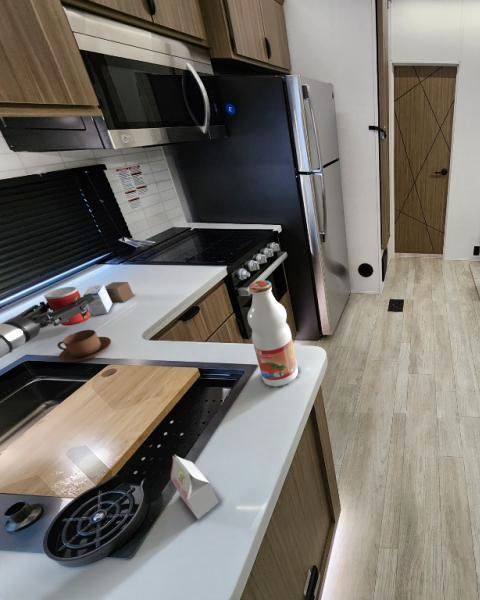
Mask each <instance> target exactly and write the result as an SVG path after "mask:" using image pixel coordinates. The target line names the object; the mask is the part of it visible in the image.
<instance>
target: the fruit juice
mask: <svg viewBox="0 0 480 600" xmlns="http://www.w3.org/2000/svg"><path fill="white" fill-rule="evenodd" d="M272 289H273V285H272V283H271V281H269V280H266V279H261V280H256V281H252V282H251V283H250V284H249V286H248V290H249V292H250V294H251V295H252V301H251V306H250V308H249V310H248V312H247V316H246V317H247V323H248V325H249V327H250V328H251V330H252V331H251V340H252V345H253V348H254V352H255V356H256V359H257V363H258V368H259V371H260V374H261V378H262V381H263V382H264V383H265V384H266V385H267V386H270V387H281V386H285V385H288V384H290V383H291V382H293V381H294V380H295V379H296V377H297V376H298V373H299V366H298V361H297V357H296V352H295V346H294V342H293V337H292V336H293V335H292V331H291V327H290V325H289V324H288V323H287V318H288V317H287V310H286V308H285V307H284V305H282V304H281V303H280V302H278V301H277V300H276V297H275V296H274V294H273V292H272Z"/></svg>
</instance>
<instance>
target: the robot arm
mask: <svg viewBox="0 0 480 600" xmlns="http://www.w3.org/2000/svg"><path fill="white" fill-rule="evenodd" d="M93 301H94V298H93V296H92V294H91V293H89V294H87V295H85V296H81V298H80V299H78V300H76V301H74V302H73V304H71V305H69V306H66V307H63V308H61V309H58V310H56V311H52V309H51V307H50V306H49V304H48V302H47V301H46V302H45V301H39V304H34V305H32V306H30V307H29V308H27V309H25V310H24V311H22V312H20V313H19V314H17V315H15V316H13V317H11V318H9V319H7V320H5V321H3V322H1V323H0V359H1V358H2V357H4V356H6V355H8V354H9V353H13V352H14V350H16V349H17V348H20V347H21V346H23V345H24V344H26V343H29V342H30V341H32V340H34V339H35V338H36V337H38V336H39V334H40V330H41V329H44V328H46V327H48V326H49V325H52V326H53V327H57V326H59V325H61V323H62V322H63V321H65V320H67V319H69V318H71V317H73V316H75V315H77V314H79V313H81V312H83V311H85V310H84V308H83V307H84V306H86V307H87V306H88V304H89V303H91V302H93Z"/></svg>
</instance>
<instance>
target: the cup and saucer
mask: <svg viewBox="0 0 480 600" xmlns="http://www.w3.org/2000/svg"><path fill="white" fill-rule="evenodd" d="M62 344H63V345H64V346H65V347H63V346H61V345H62ZM111 344H112V340H111V338H110V337H107V336H98V334H97V332H96V330H94V329H85V330H84V329H82V330H80V331H76V332H74V333H71V334H69V335H67V336H66V337H65V338H64V339H63V340H61V341H59V342H58V343H57V348H58V349H59V350H61V352H60V354H59V356H58V358H59V359H60V360H61V361H63V362H66V363H78V362H83V361H87V360H90V359H93V358H95V357H97V356H99V355H101V354H103V353H104V352H106V350H108V349H109V347H110V346H111Z"/></svg>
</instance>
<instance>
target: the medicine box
mask: <svg viewBox="0 0 480 600" xmlns="http://www.w3.org/2000/svg"><path fill="white" fill-rule="evenodd" d="M89 293H91V294H92V296H93V298H94V301H93V302H91V303H89V304H87V306H88V307H89V310H90V312H91V314H92V315H93V316H100V315H105V314H108V313H109V312H110V310H111V307H112V305H113V302H112V301H111V299H110V297H109V295H108V293H107V290H106V288H105V285H104V284H98V285H91V286H89V287H88V288H87V289H86V291H85V292H84V294H83V296H85V295H87V294H89ZM83 296H82V297H83Z"/></svg>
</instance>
